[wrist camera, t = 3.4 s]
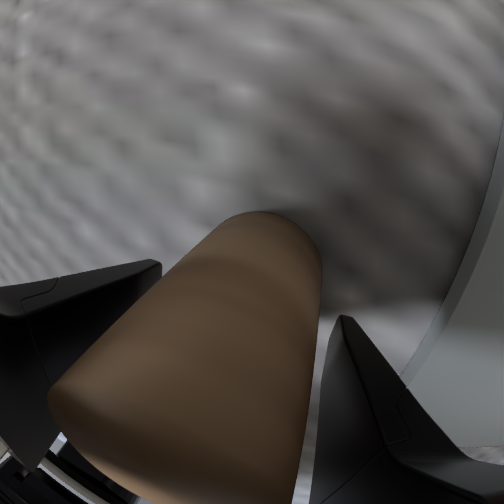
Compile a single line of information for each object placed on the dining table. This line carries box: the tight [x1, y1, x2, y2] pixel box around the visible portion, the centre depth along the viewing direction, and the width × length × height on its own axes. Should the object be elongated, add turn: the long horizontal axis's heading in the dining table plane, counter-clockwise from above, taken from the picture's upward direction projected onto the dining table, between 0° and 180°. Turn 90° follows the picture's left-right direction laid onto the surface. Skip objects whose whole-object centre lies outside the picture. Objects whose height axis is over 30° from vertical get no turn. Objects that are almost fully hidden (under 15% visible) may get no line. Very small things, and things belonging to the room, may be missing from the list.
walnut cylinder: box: [47, 212, 322, 504], centre depth 7 cm, size 4×4×8 cm
